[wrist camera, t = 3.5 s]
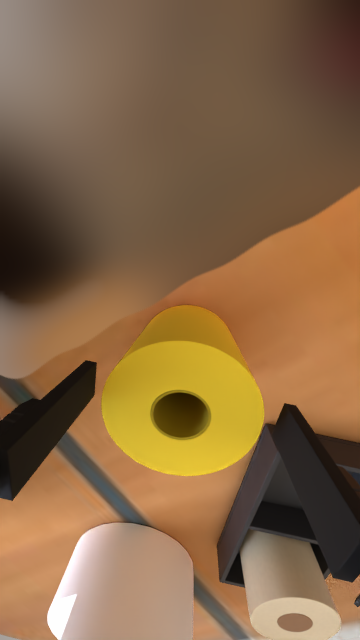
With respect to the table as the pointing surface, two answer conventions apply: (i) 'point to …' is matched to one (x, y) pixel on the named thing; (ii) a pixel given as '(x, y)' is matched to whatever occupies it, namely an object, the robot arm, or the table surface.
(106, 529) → the white notched cylinder
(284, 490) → the rack
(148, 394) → the tape roll
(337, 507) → the robot arm
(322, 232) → the table surface
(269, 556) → the paper roll
